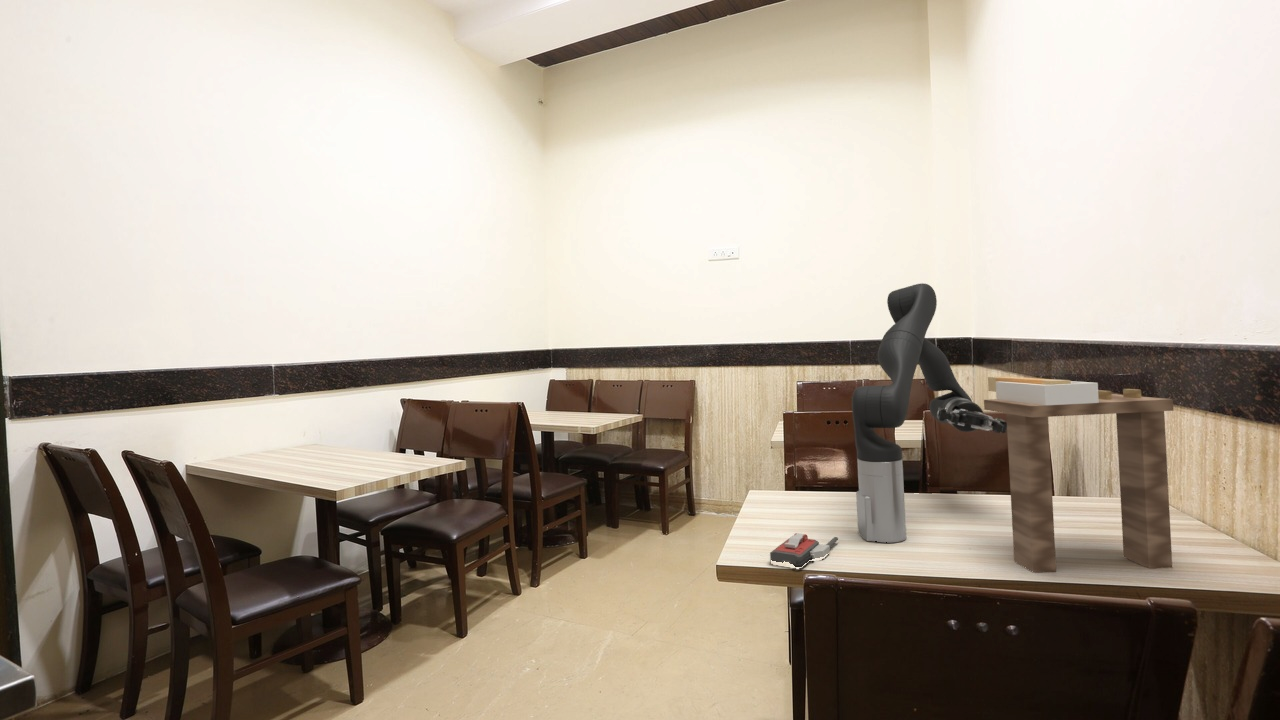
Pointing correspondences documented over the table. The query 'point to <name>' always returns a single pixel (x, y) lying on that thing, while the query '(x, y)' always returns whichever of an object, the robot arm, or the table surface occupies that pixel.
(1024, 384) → the tray
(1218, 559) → the table surface
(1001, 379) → the tan wooden bar
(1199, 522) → the table surface
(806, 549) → the walkie-talkie
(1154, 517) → the shelf
